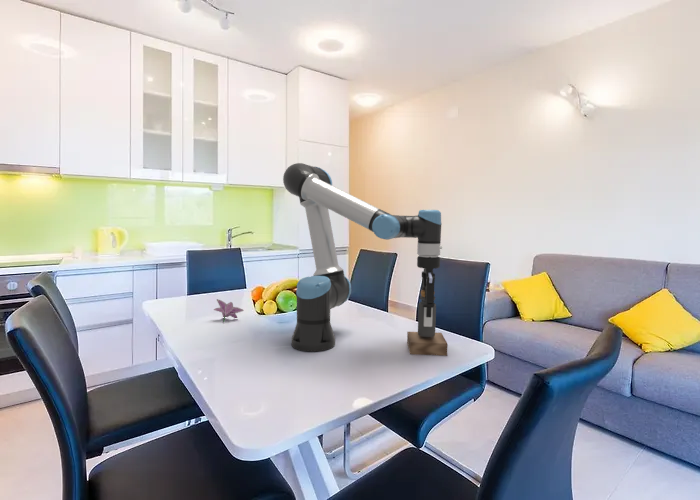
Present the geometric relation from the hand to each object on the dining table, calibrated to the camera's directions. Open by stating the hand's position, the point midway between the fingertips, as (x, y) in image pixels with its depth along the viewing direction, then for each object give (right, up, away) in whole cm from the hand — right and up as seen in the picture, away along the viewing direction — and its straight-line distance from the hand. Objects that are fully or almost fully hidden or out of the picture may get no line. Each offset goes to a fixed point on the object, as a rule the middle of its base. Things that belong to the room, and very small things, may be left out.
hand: (426, 323), depth 127 cm
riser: (0, -9, +1) cm, 9 cm away
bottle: (0, -4, 0) cm, 4 cm away
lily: (-78, -6, +33) cm, 85 cm away
